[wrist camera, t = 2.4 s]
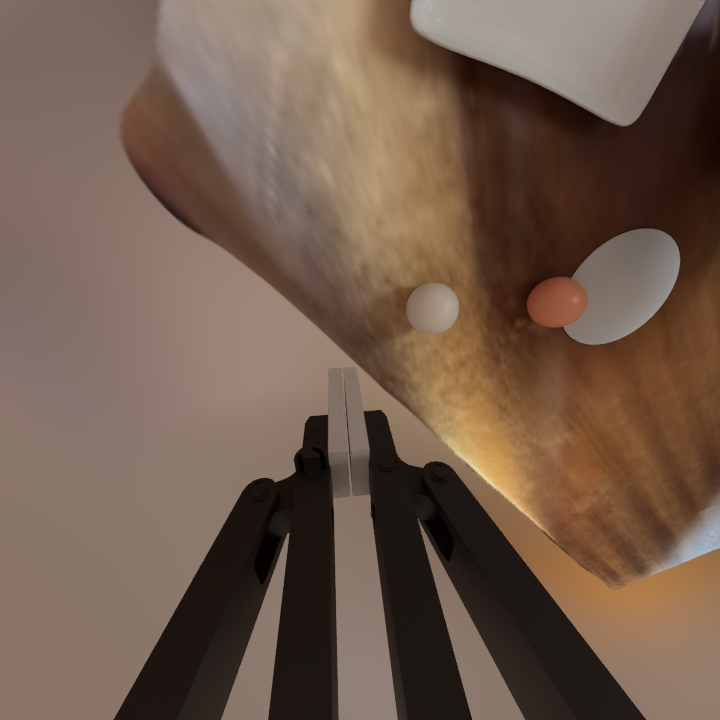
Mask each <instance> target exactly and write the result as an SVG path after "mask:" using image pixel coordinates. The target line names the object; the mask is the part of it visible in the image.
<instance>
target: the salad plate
mask: <svg viewBox="0 0 720 720" xmlns="http://www.w3.org/2000/svg"><path fill="white" fill-rule="evenodd" d="M704 2H705V0H411V2H410V10H409V19H410V24H411V26H412V28H413V29H414V31H415V32H416V33H417V34H418V35H420V36H421V37H423V38H425V39H427V40H429V41H430V42H433V43H435V44H437V45H439V46H441V47H444V48H446V49H449V50H451V51H454V52H457V53H459V54H462V55H465V56H468V57H470V58H473V59H476V60H479V61H482V62H484V63H487V64H490V65H492V66H495V67H498V68H500V69H503V70H505V71H508V72H510V73H513V74H515V75H518V76H520V77H522V78H525V79H527V80H529V81H531V82H534V83H536V84H538V85H540V86H542V87H544V88H546V89H548V90H550V91H552V92H554V93H556V94H558V95H560V96H562V97H564V98H566V99H568V100H569V101H571V102H573V103H575V104H577V105H578V106H580V107H582V108H584V109H586V110H588V111H589V112H591V113H593V114H595V115H597V116H598V117H600V118H602V119H604V120H606V121H608V122H610V123H612V124H615V125H618V126H628V125H631V124H632V123H634V122H635V121H636V120H637V119H638V118H639V116H640V115H641V113H642V112H643V110H644V108H645V107H646V105H647V103H648V102H649V100H650V98H651V97H652V95H653V93H654V91H655V90H656V88H657V86H658V84H659V83H660V81H661V79H662V77H663V76H664V74H665V72H666V70H667V68H668V66H669V65H670V63H671V61H672V59H673V57H674V56H675V54H676V52H677V50H678V49H679V47H680V45H681V43H682V41H683V40H684V38H685V36H686V34H687V32H688V31H689V29H690V27H691V25H692V24H693V22H694V20H695V18H696V16H697V15H698V13H699V11H700V9H701V7H702V6H703V4H704Z"/></svg>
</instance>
